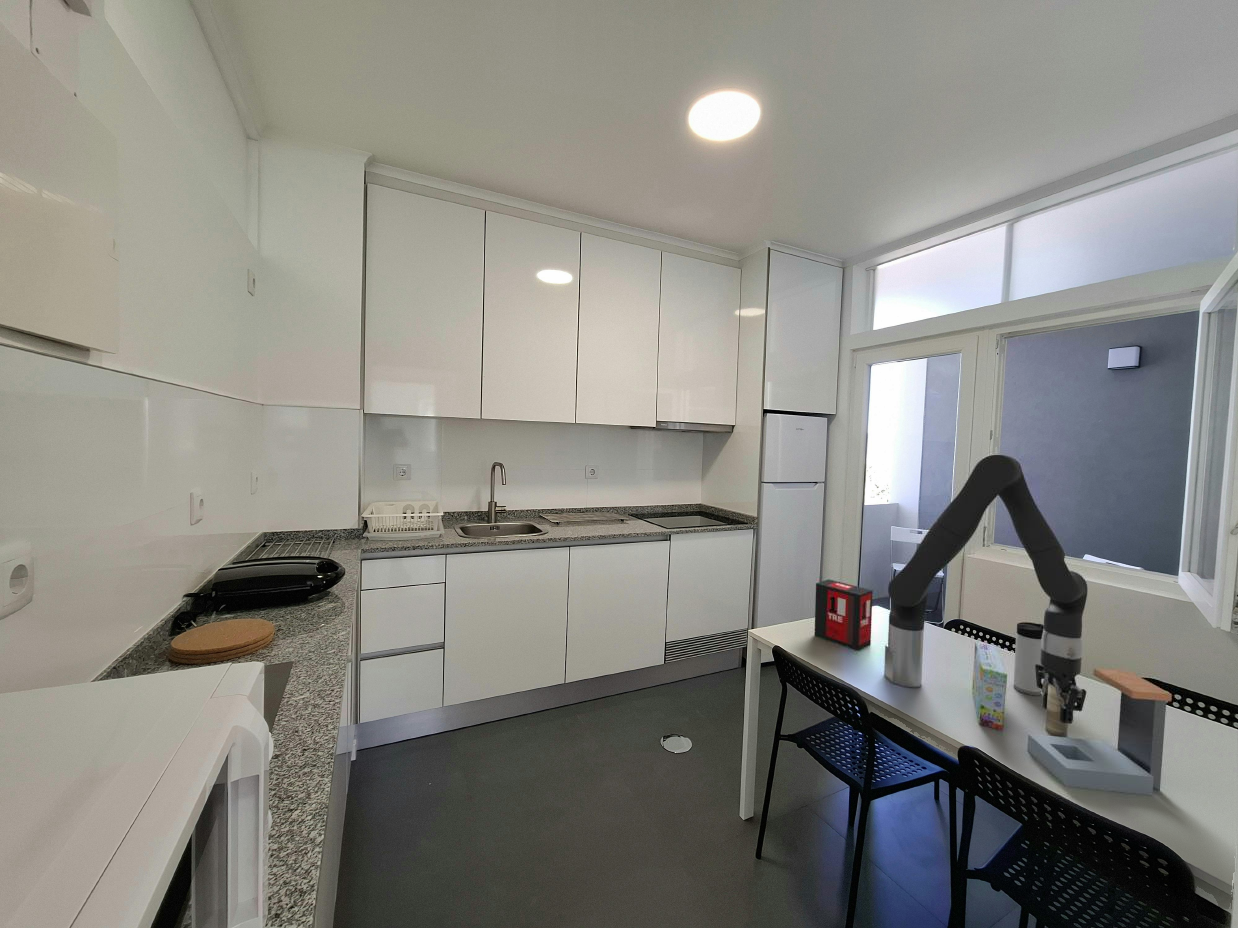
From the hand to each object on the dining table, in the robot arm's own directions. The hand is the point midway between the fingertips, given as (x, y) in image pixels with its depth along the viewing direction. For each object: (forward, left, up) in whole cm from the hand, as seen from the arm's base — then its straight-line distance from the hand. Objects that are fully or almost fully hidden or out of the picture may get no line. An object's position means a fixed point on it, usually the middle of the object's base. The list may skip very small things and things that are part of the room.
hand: (1057, 715), depth 121 cm
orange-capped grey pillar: (+3, -15, -4) cm, 16 cm away
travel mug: (+7, +22, -5) cm, 24 cm away
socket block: (-4, -15, -4) cm, 16 cm away
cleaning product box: (-37, +50, -5) cm, 62 cm away
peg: (0, 0, -4) cm, 4 cm away
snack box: (-11, +9, -5) cm, 15 cm away
